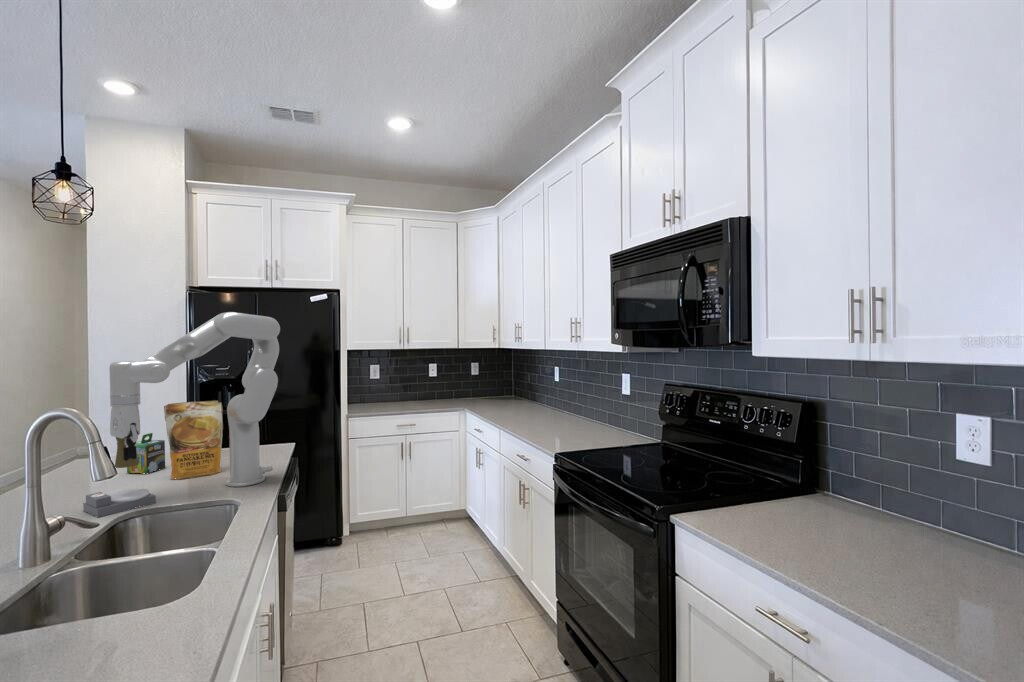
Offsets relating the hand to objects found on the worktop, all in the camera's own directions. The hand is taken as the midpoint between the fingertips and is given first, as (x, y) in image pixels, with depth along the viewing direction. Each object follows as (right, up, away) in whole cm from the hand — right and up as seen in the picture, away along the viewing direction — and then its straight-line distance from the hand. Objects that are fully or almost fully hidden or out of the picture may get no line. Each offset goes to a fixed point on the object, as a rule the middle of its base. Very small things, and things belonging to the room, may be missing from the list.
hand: (126, 458), depth 159 cm
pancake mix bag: (+1, -14, +33) cm, 36 cm away
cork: (0, -2, 0) cm, 2 cm away
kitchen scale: (-1, -15, -1) cm, 15 cm away
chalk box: (-23, -15, +40) cm, 48 cm away
